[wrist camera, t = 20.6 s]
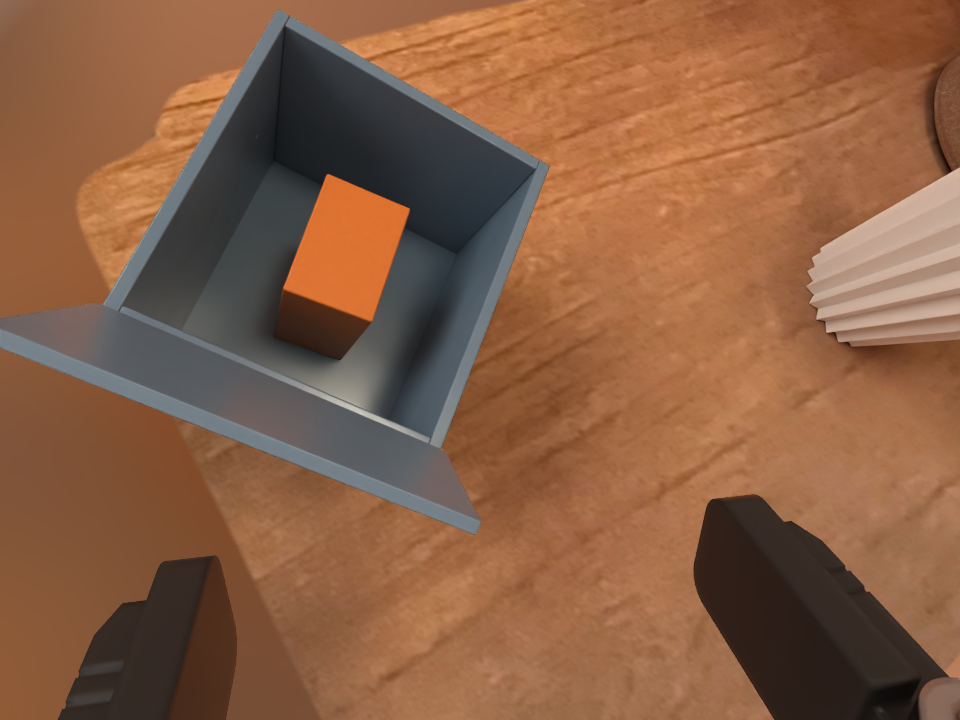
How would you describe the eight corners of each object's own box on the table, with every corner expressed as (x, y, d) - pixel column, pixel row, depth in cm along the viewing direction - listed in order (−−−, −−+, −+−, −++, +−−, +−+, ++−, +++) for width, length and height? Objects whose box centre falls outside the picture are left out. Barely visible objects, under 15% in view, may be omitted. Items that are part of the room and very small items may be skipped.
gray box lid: (445, 450, 22) (440, 460, 22) (97, 302, 19) (91, 314, 19) (482, 521, 16) (476, 536, 16) (-20, 320, 13) (-28, 337, 13)
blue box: (378, 461, 33) (438, 455, 23) (150, 368, 31) (98, 311, 20) (464, 253, 37) (550, 165, 27) (268, 152, 34) (277, 7, 24)
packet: (341, 360, 33) (372, 322, 25) (273, 337, 32) (282, 289, 24) (371, 272, 35) (411, 208, 26) (307, 247, 34) (327, 172, 25)
